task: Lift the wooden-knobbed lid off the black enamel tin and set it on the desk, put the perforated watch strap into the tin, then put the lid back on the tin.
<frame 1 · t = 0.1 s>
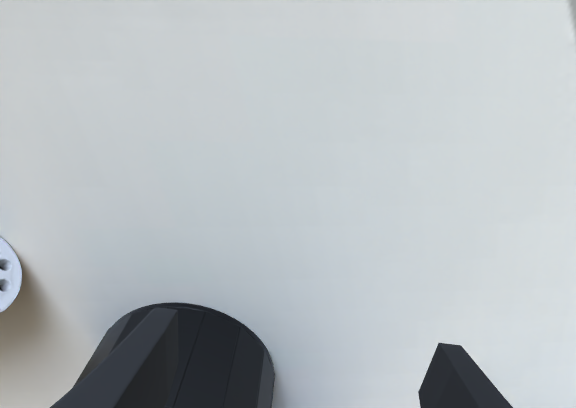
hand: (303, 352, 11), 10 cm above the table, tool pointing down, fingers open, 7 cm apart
pot: (188, 368, 26), on the table
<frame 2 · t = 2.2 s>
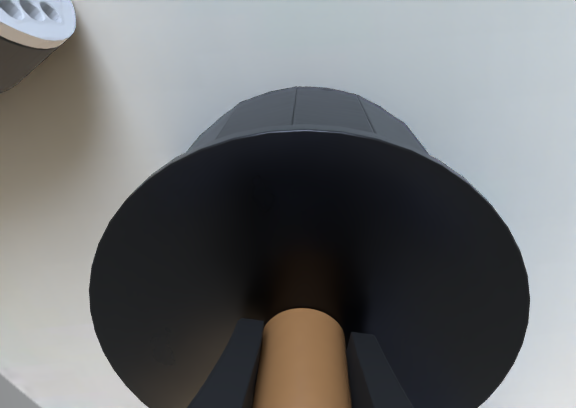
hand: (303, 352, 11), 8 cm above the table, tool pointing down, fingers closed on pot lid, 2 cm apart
pot lid: (303, 325, 12), point 7 cm above the table, touching gripper, pot
pot: (306, 214, 18), on the table
when the fingers open (2 cm above the table, at t = 6.7 s): pot lid stays where it is, point 1 cm above the table.
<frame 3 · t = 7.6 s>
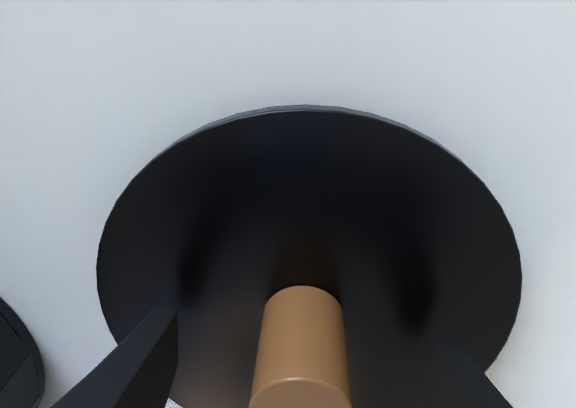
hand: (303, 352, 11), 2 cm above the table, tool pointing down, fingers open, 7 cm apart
pot lid: (303, 304, 12), point 1 cm above the table
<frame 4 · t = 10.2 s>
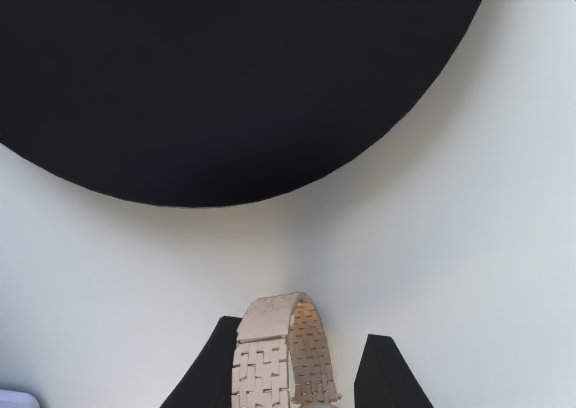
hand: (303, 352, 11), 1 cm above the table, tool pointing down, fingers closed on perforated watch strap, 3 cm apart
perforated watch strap: (304, 315, 12), on the table, touching gripper
when the fingers open (3 cm above the table, at t = 15.1 s): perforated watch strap drops 2 cm, resting on pot.
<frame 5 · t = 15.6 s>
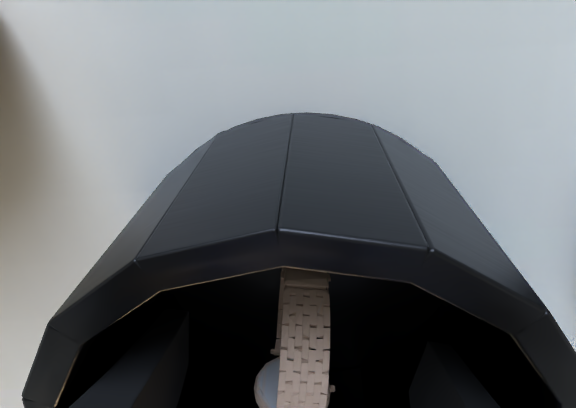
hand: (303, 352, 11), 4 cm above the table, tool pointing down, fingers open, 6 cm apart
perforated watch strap: (299, 281, 14), resting on pot
pot: (305, 267, 14), on the table
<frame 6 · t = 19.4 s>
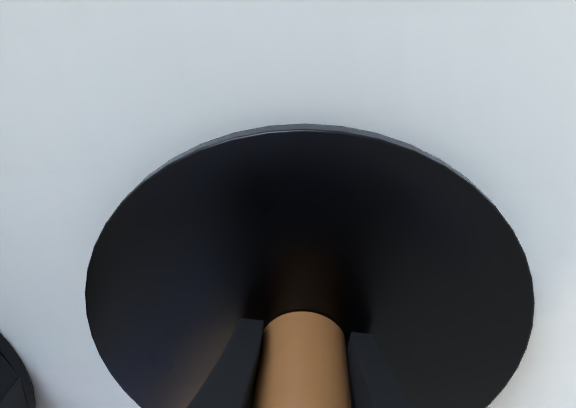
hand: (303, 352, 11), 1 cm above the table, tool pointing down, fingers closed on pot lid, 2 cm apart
pot lid: (303, 329, 12), point 1 cm above the table, touching gripper
when the fingers open (8 cm above the table, at t = 23.4 s): pot lid stays where it is, resting on pot.
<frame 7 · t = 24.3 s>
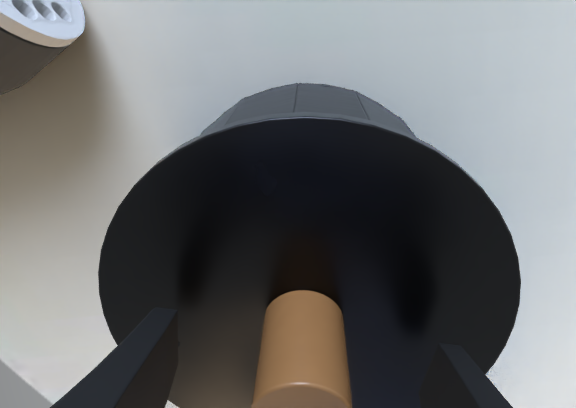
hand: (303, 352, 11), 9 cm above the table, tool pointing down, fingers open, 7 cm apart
pot lid: (303, 308, 12), point 7 cm above the table, touching pot
pot: (306, 208, 19), on the table
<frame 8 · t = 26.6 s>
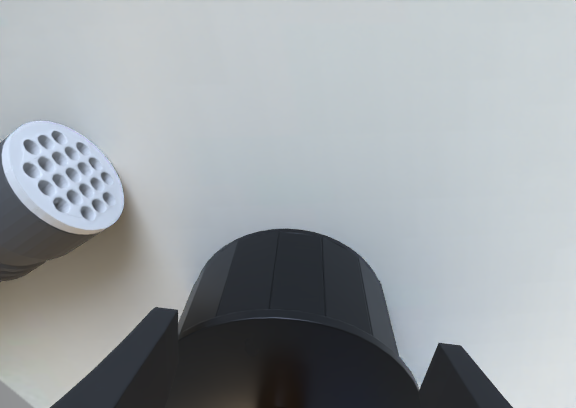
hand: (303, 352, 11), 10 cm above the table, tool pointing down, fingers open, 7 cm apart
flashlight: (12, 217, 22), on the table
pot: (288, 309, 24), on the table
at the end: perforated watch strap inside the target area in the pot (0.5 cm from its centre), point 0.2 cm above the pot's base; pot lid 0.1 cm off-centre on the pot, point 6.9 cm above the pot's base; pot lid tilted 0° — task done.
